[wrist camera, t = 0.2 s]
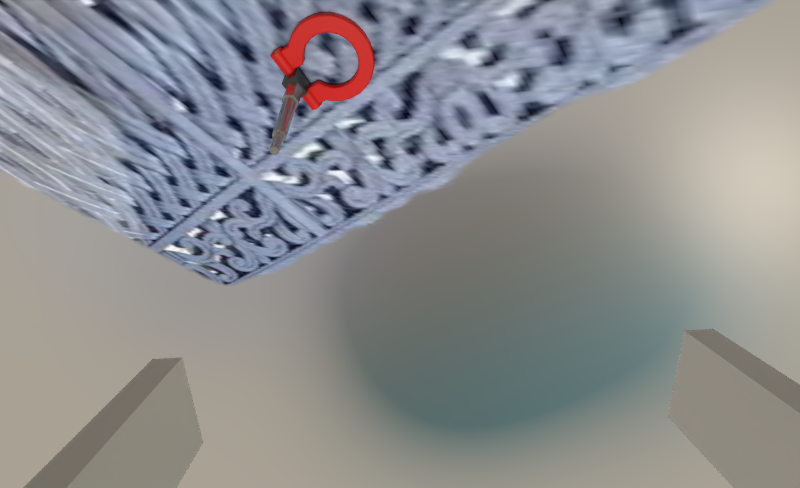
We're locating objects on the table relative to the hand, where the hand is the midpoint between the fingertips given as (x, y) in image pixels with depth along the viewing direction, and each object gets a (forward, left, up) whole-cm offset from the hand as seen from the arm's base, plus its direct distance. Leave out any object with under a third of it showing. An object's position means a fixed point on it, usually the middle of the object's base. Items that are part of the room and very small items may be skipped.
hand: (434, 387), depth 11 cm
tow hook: (+3, -12, -36) cm, 38 cm away
